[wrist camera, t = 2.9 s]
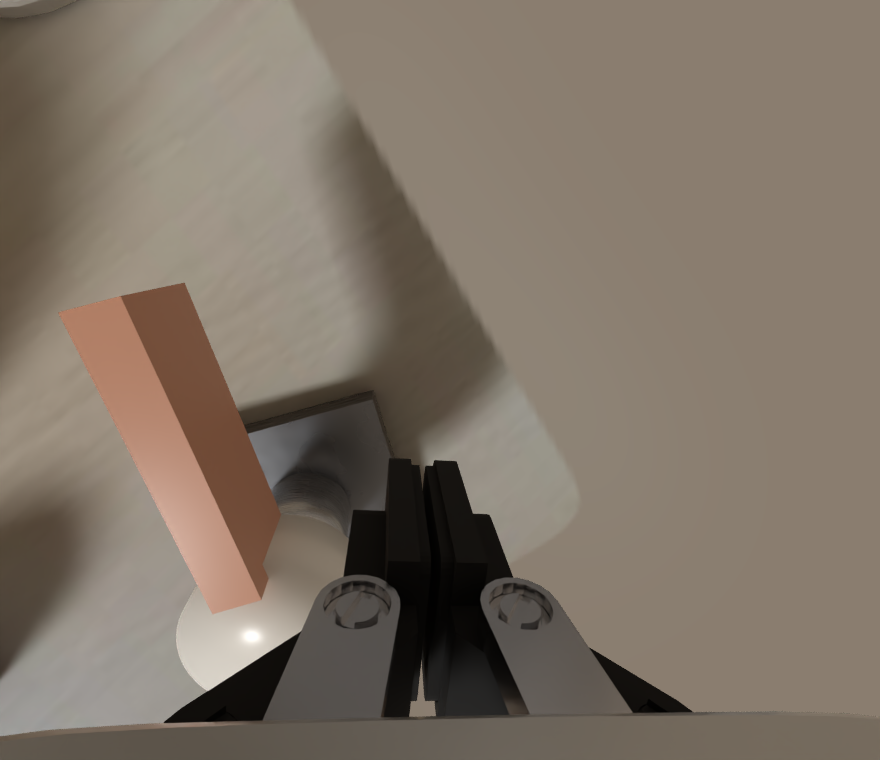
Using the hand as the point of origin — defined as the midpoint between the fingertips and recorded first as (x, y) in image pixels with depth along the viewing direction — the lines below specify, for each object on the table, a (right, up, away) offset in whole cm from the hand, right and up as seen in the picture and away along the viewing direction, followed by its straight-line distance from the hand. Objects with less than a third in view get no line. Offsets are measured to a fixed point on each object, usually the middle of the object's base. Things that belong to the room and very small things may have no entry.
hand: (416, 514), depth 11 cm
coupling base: (-7, -3, +15) cm, 16 cm away
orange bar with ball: (-7, -1, +7) cm, 10 cm away
